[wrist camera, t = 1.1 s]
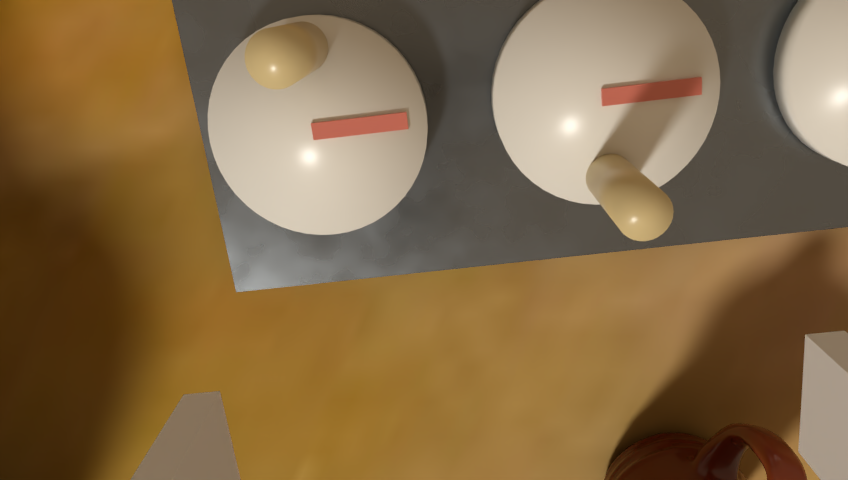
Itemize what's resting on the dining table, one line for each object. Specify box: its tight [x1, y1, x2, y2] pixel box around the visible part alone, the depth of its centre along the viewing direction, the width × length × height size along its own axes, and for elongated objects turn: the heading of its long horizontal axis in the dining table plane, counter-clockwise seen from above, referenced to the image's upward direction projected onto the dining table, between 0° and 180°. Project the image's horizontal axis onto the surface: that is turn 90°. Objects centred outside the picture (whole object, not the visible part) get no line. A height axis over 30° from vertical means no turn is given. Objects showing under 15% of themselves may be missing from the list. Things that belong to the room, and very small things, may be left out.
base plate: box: [172, 0, 848, 292], centre depth 31 cm, size 35×15×2 cm, turn 97°
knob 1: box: [208, 14, 428, 235], centre depth 28 cm, size 9×9×7 cm
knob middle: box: [491, 0, 720, 241], centre depth 28 cm, size 9×9×7 cm
